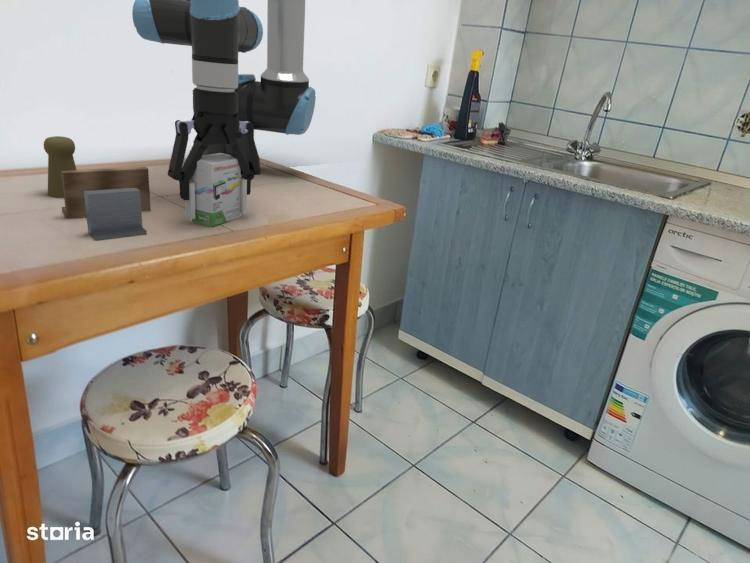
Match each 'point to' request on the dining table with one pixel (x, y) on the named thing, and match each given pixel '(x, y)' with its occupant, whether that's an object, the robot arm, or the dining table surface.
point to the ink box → (217, 189)
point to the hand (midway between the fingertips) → (216, 213)
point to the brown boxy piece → (102, 186)
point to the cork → (58, 162)
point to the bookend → (114, 213)
